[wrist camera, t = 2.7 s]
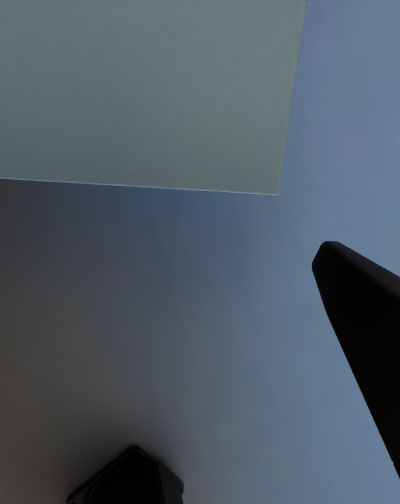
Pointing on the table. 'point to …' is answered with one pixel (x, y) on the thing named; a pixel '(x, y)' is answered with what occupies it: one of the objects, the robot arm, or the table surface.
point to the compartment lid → (148, 92)
